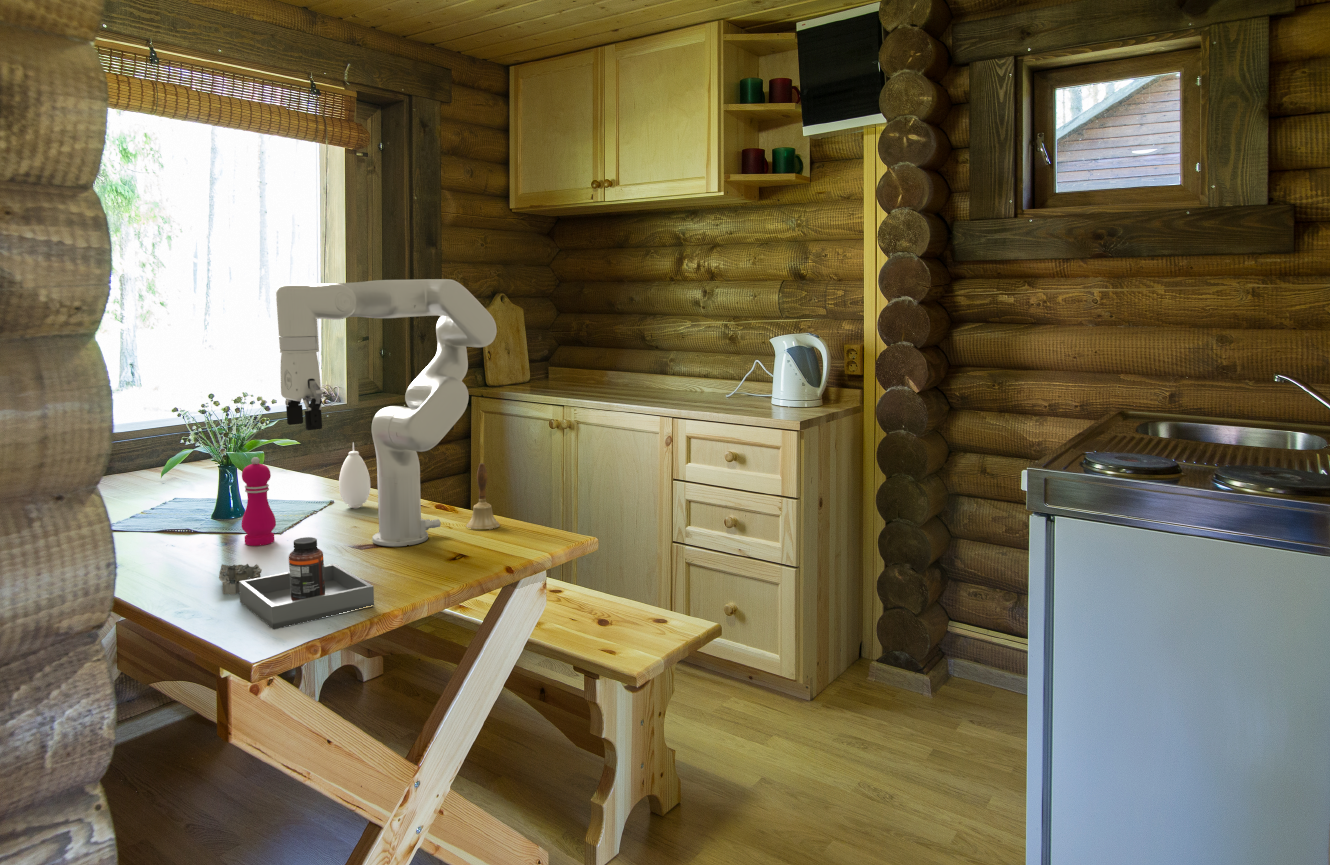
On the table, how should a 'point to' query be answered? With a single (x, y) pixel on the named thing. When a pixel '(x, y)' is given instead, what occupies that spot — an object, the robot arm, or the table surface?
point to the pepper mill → (257, 505)
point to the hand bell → (482, 505)
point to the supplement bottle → (306, 569)
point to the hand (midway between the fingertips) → (304, 426)
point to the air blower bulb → (354, 480)
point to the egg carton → (237, 576)
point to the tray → (279, 610)
